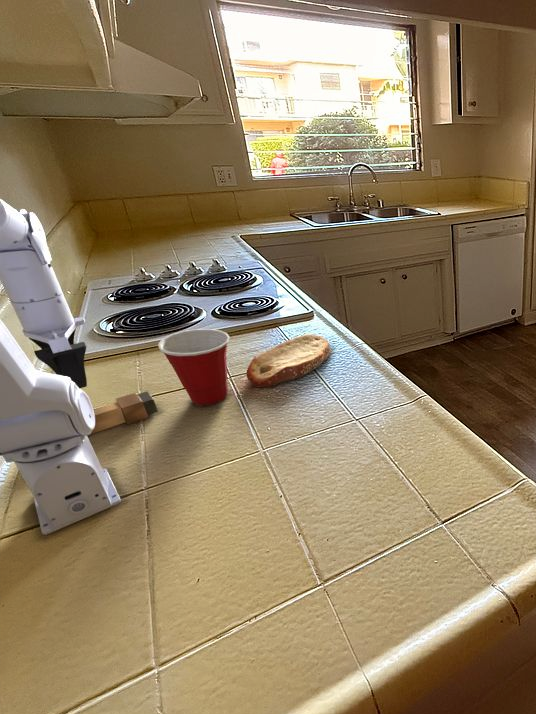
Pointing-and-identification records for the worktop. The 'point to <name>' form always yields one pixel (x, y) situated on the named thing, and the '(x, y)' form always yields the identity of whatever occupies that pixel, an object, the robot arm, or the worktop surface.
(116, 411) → the brush
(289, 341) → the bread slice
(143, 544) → the worktop surface
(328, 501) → the worktop surface
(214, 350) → the plastic cup
